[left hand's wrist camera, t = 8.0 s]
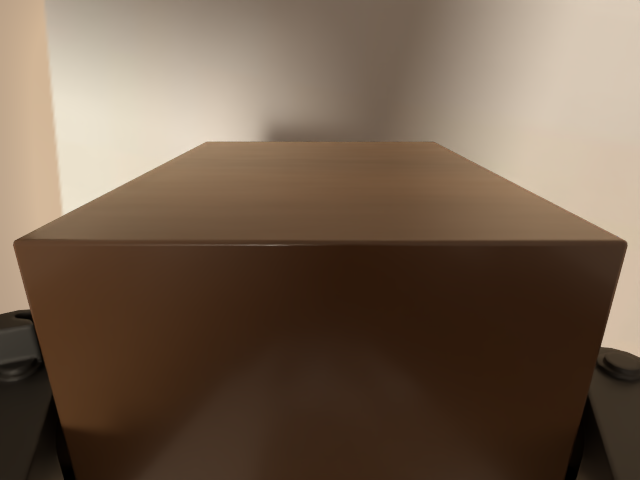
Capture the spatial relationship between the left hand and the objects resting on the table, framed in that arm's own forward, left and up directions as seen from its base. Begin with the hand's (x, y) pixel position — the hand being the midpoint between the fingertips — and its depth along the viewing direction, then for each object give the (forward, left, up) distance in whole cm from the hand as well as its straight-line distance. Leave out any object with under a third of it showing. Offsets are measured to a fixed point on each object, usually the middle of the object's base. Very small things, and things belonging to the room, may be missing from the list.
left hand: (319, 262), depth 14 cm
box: (+8, 0, 0) cm, 8 cm away
